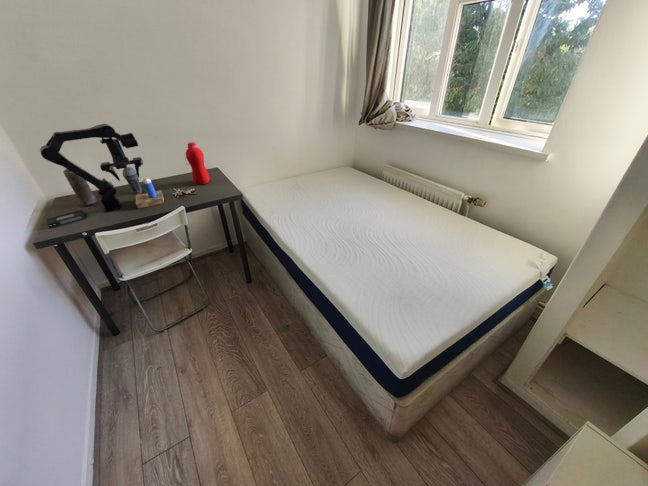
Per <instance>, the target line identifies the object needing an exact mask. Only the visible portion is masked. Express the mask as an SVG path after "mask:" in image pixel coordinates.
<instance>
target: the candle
mask: <svg viewBox="0 0 648 486" xmlns="http://www.w3.org/2000/svg"><path fill="white" fill-rule="evenodd" d="M62 173H63V175H64V176H65V178H66V180H67V182H68V184H69V186H70V188H71V189H72V191H73V193H74V194H75V196H76V198H77V200H78V201H79V203H80V205H81V206H83V207H86V206H90V205H94V204H96V203H97V201H98V200H97V198H96V196H95V193H94V192H93V191H92V188H91V187H90V185H89V182H88V181H86V180H85V179H83V178H81V177H80V176H78V175H76V174H75V173H73V172H71V171H70V170H68V169H66V168H65V169H64V170H63V171H62Z"/></svg>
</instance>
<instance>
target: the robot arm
mask: <svg viewBox="0 0 648 486" xmlns="http://www.w3.org/2000/svg"><path fill="white" fill-rule="evenodd" d="M93 138H100V141H99V143H101V145H104V144H105V145H106V147H107V149H108V152H109V154H110V156H111V159H112V163H111V162H110V161H105V162H101V163H100V165H99V168H100V170H101V172H106V173H109V174H111V175H112V176H113V177H114V178H115V180H117V181H119V182H121V178H120V177H119V175H118V174H117V172H116V170H120V169H121V170H123V169H124V168H127V167H128V166H130V165H134V170H135V171H136V172H137V176H138V179H140V167H142V166H143V165H144V160H143V158H142V157H141V156H138V157H137V156H136V157H133V158H132V159H131V160H130V159H129V157H127V156H126V154H125V152H124V149H123V148H125V149H132V148H136V147H139V143H138V141H137V139H136V137H135V136H134V133H132V132H128V133H124V134H120V133H119V132H116V130H115V128H114V127H112V126H111V125H109V124H107V123H100V124H97V125H95V126H92V127H88V128H82V129H81V128H80V129H72V130H64V131H54V132H53V133H52V136H51V137H50V138H49V139H48V141H47V142H46V144H44V145H42V146H40V148H39V153H40V155H41V157H42V158H43V159H44V160H46V161H48V162H50V163H53V164H55V165H57V166H61V167H63V168H65V169H68V170H70V171H71V172H73V173H75V174H76V175H78V176H80V177H81V178H83V179H85V180H86V181H87V183H88V184H91V185H93V186H94V187H95V188H97V190H98V191H99V192H98V193H97V195H98V196H99V198H100V202H101V204H102V206H103V207H104V209H105V211H104V212H106V213H107V212H112V211H116V210H120V209H121V202H120V200H119V198H118V197H116V194H117V189H116V187H115V185H114V184H113V183H112V182H111V181H108V180H107V179H106V178H105V177H102V179H101V178H98V177H97V176H95V175H94V174H92V173H90V172H89V171H87V170H86V169H84V168H82V167H80V166H79V165H78V164H76V163H74V162H72V161H71V160H70V159H68V158H67V157H66V156H65V155H63V153H61V152H60V151H61V149H62V147H63V144H64V143H65V142H71V141H78V140H84V139H93ZM115 169H116V170H115Z"/></svg>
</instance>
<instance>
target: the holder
mask: <svg viewBox="0 0 648 486" xmlns="http://www.w3.org/2000/svg"><path fill="white" fill-rule="evenodd" d="M155 192H156V194H157V197H155V198H149V196H148V193H147V192H146V193H139V194H135V205H136V208H137V209H143V208H148V207H152V206H156V205H161V204H165V198H164V193H163V191H162V190H161V189H160V190H155Z"/></svg>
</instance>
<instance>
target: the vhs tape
mask: <svg viewBox="0 0 648 486" xmlns="http://www.w3.org/2000/svg"><path fill="white" fill-rule="evenodd" d="M83 219H85V212H84V211H83V209H79V210H75V211H71V212H67V213H64V214H59V215H55V216H53V217H49V218H47V220H46V221H47V222H46V225H47V226H48V225H52V226H48V228H49V229H51V228H55V227H59V226H62V225H67V224H70V223H72V222H75V221H76V222H77V221H80V220H83ZM53 224H56V225H53Z"/></svg>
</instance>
